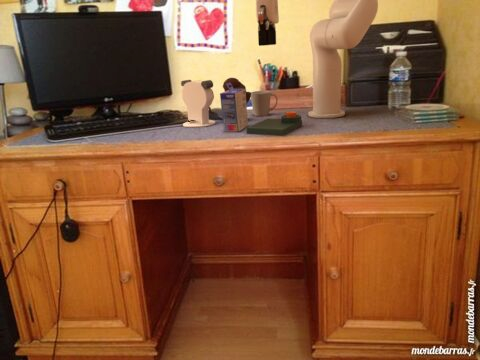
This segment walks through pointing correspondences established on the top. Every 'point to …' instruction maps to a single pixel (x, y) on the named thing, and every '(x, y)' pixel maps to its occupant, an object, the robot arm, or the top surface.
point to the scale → (276, 126)
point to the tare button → (290, 114)
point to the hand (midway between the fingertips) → (267, 45)
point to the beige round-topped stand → (198, 102)
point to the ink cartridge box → (234, 109)
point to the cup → (262, 102)
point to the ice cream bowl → (236, 87)
